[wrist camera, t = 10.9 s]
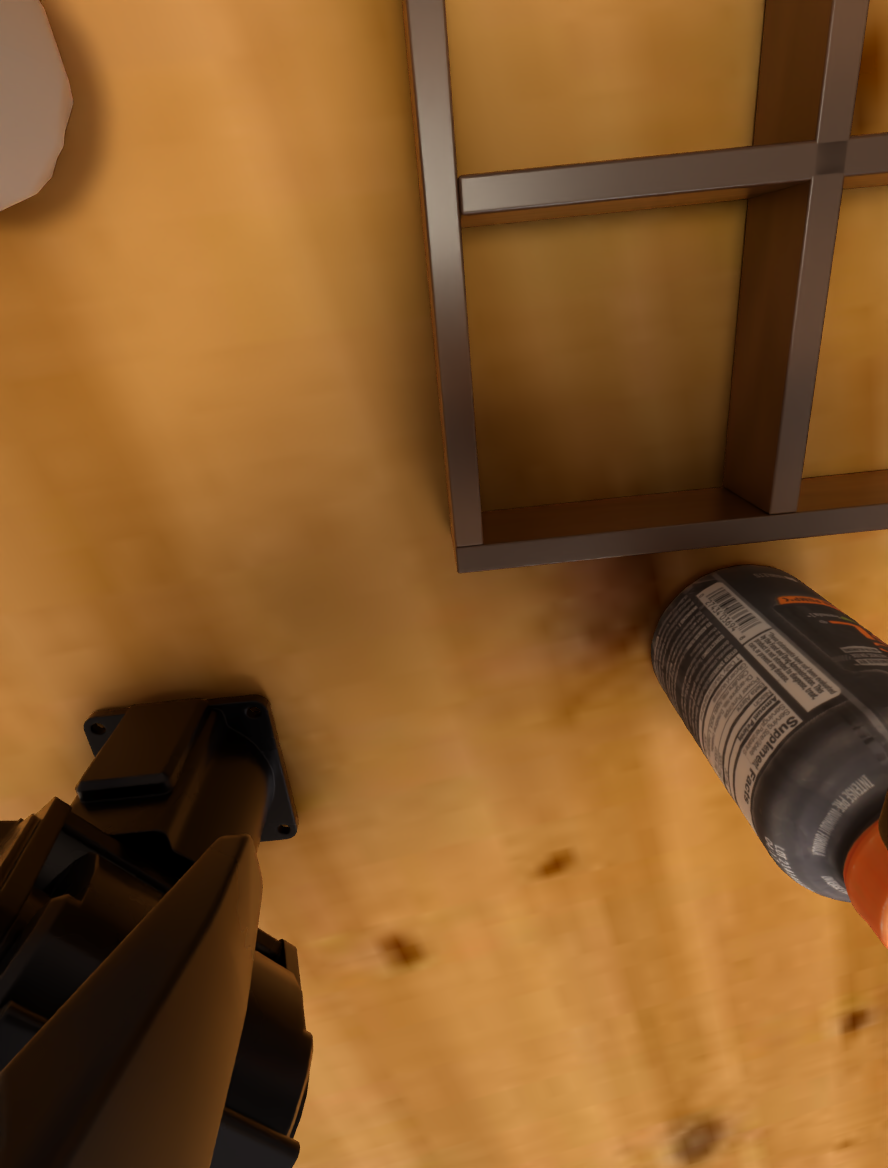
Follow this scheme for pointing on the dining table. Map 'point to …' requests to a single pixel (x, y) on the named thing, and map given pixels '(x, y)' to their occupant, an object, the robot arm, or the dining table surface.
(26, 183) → the salt shaker
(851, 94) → the rack
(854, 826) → the pill bottle
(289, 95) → the dining table surface
